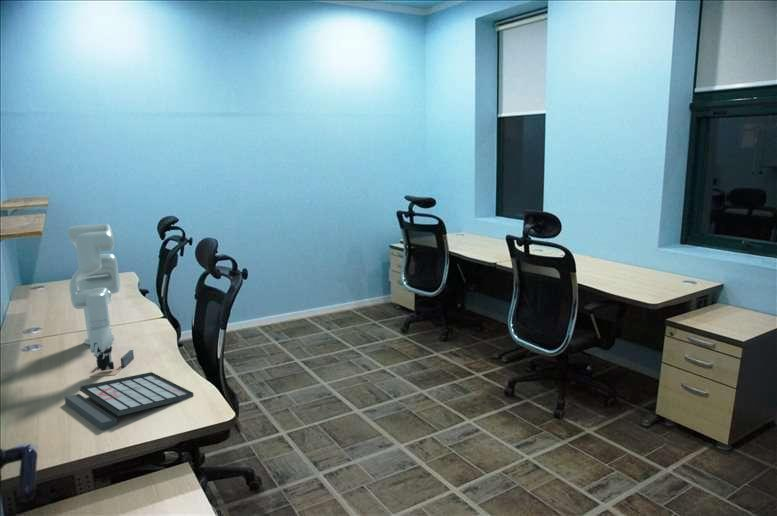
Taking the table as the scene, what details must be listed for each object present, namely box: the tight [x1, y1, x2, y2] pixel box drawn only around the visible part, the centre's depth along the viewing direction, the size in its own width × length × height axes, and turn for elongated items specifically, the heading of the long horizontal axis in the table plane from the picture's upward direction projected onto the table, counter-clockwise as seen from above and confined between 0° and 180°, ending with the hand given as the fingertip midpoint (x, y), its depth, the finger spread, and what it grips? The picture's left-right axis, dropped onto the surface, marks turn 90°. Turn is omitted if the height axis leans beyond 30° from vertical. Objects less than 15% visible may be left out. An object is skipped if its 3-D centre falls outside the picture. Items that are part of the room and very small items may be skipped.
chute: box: [95, 349, 135, 370], centre depth 227 cm, size 10×11×4 cm
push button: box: [95, 345, 115, 371], centre depth 217 cm, size 7×5×10 cm
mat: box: [89, 367, 123, 378], centre depth 218 cm, size 7×10×1 cm, turn 94°
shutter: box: [64, 371, 194, 432], centre depth 193 cm, size 32×7×31 cm
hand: (105, 365), depth 218 cm, fingers closed on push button, 3 cm apart
